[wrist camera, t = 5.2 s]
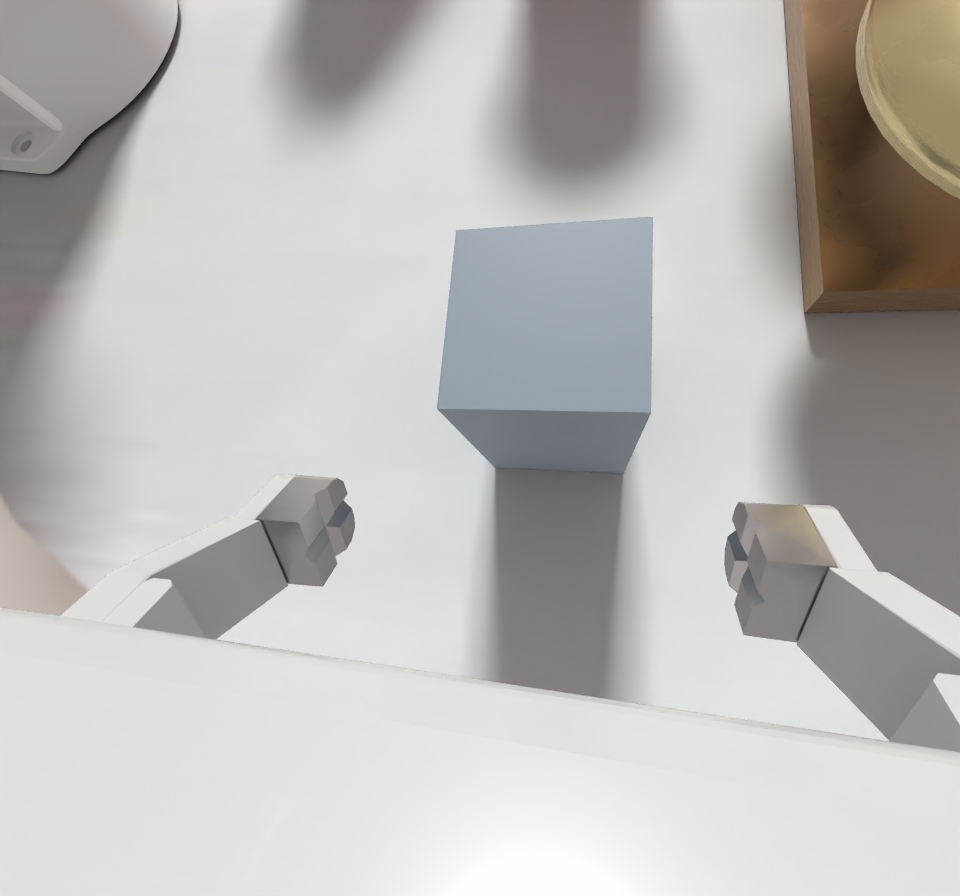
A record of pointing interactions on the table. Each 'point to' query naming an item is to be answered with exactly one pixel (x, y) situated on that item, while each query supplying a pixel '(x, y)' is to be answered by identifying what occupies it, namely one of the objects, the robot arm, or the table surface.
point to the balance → (876, 152)
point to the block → (551, 343)
